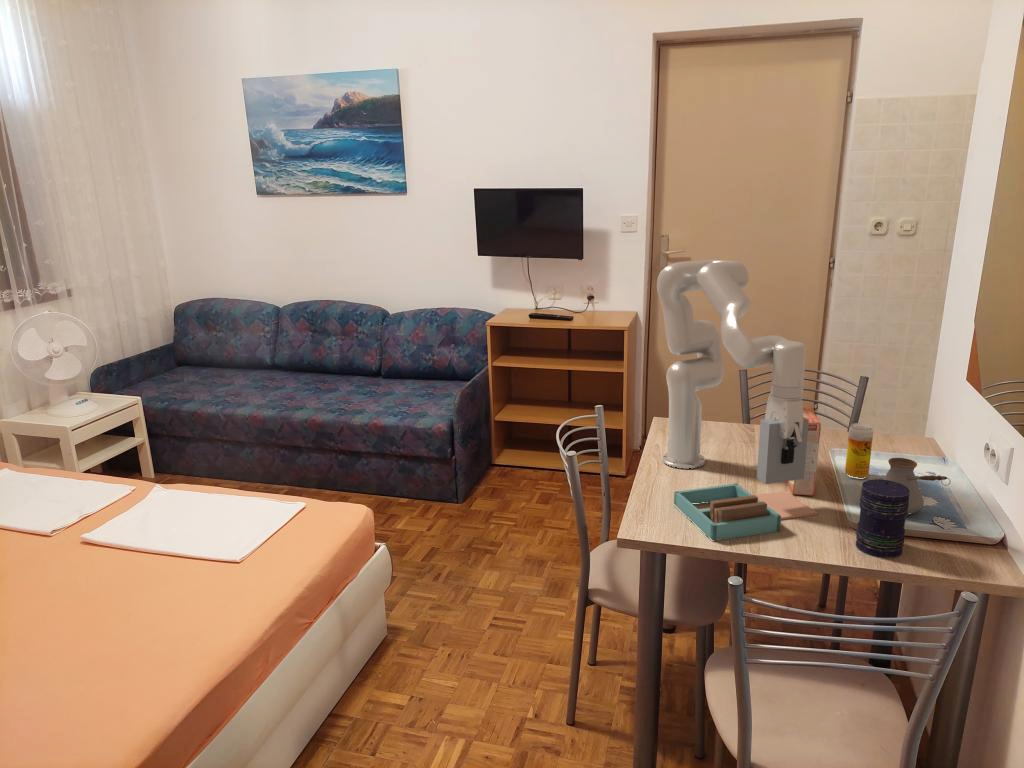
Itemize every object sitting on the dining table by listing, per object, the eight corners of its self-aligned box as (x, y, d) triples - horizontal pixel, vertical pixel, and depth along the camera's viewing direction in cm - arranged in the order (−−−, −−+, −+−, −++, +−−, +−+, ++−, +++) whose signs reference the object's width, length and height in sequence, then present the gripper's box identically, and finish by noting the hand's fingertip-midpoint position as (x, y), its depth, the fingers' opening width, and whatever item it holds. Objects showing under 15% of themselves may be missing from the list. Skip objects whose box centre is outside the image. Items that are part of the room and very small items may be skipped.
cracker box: (815, 496, 195) (822, 422, 189) (791, 495, 196) (797, 421, 191) (806, 476, 208) (812, 406, 203) (784, 475, 209) (789, 405, 204)
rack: (673, 505, 192) (674, 491, 191) (735, 497, 196) (736, 483, 195) (712, 541, 173) (712, 525, 172) (779, 531, 177) (781, 515, 176)
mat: (741, 498, 195) (741, 496, 195) (784, 492, 198) (784, 490, 198) (771, 521, 182) (771, 519, 182) (817, 514, 185) (817, 512, 185)
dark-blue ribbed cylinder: (901, 562, 161) (909, 500, 157) (853, 552, 166) (859, 492, 162) (903, 543, 169) (911, 483, 165) (857, 534, 174) (863, 476, 170)
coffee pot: (862, 501, 191) (868, 447, 187) (903, 498, 193) (909, 444, 189) (916, 539, 171) (924, 480, 167) (961, 535, 172) (970, 476, 168)
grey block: (756, 478, 189) (760, 419, 184) (794, 473, 191) (799, 415, 187) (765, 484, 185) (769, 424, 181) (803, 478, 187) (808, 419, 183)
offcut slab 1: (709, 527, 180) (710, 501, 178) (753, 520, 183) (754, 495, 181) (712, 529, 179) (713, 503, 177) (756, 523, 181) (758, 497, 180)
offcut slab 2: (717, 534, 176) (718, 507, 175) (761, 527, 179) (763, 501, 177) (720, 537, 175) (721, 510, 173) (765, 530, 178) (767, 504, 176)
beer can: (857, 482, 203) (862, 431, 199) (839, 474, 209) (844, 424, 205) (873, 478, 206) (878, 427, 202) (855, 470, 211) (860, 421, 207)
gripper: (754, 383, 189) (750, 450, 194) (793, 401, 173) (787, 473, 178) (780, 381, 190) (775, 447, 195) (821, 398, 175) (815, 470, 180)
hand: (781, 459), depth 187 cm, fingers closed on grey block, 4 cm apart
